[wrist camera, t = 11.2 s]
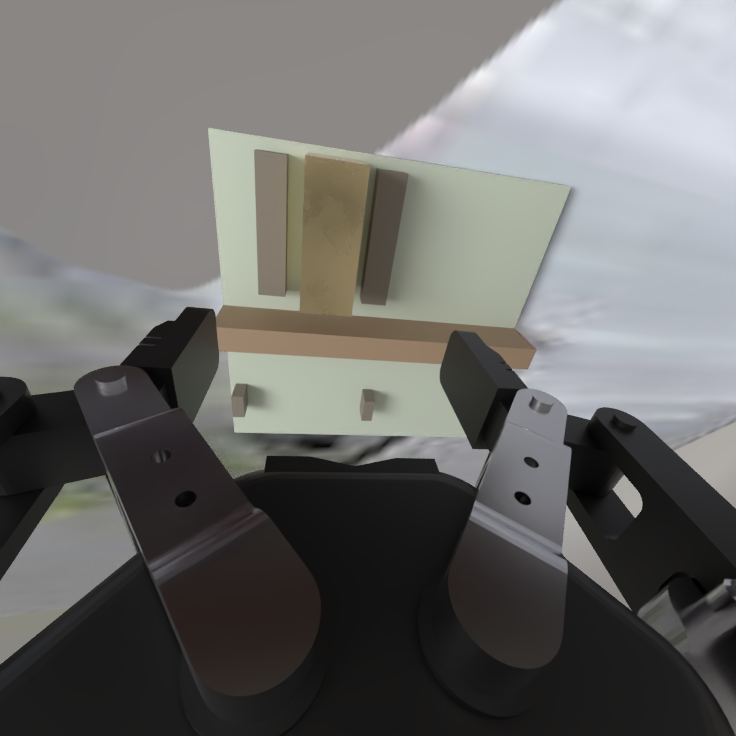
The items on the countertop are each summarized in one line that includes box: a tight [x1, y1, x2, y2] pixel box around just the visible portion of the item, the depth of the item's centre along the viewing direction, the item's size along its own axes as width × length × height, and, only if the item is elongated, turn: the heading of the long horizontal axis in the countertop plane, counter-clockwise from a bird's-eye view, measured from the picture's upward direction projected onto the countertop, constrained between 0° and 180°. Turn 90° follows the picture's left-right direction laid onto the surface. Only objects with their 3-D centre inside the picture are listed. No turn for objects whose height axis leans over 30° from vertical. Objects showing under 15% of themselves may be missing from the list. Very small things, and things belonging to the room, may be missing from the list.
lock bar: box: [299, 152, 370, 317], centre depth 24 cm, size 9×4×6 cm, turn 172°
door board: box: [208, 128, 571, 437], centre depth 30 cm, size 26×26×5 cm
